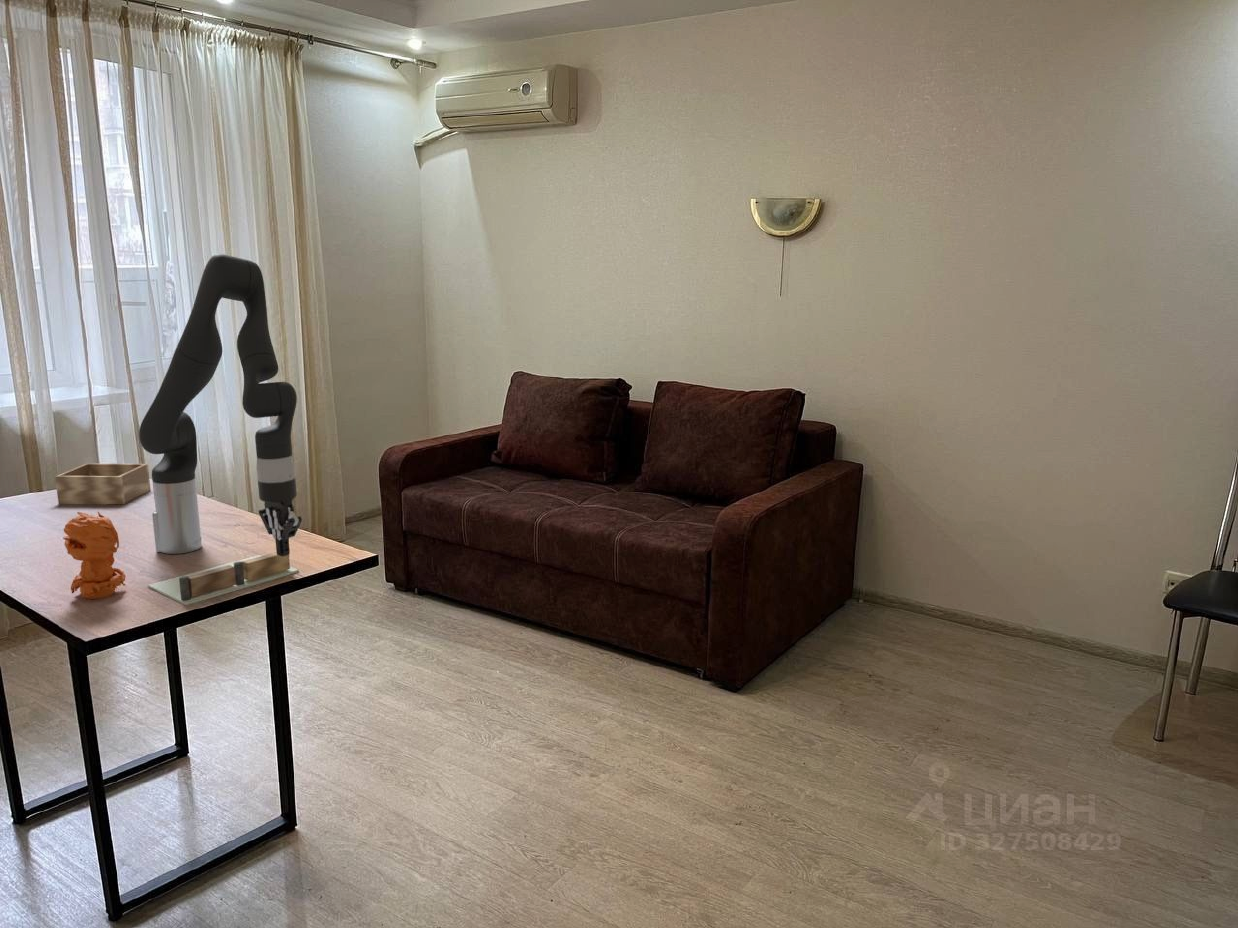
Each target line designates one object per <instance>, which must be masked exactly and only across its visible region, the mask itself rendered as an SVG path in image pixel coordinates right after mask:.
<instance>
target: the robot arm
mask: <svg viewBox="0 0 1238 928" xmlns="http://www.w3.org/2000/svg"><path fill="white" fill-rule="evenodd" d="M266 298H267V297H266V288H265V282H264V276H263V273H262V270H261V268H260V266H259V264H257V263H256V262H254V261H252V260H249V259H245V258H241V257H237V256H233V255H229V254H225V253H216V254H214V255H212V256H211V257H210V258H209V260H208V261H207V263H206V265H205V267H204V270H203V273H202V276H201V278H200V281H199V285H198V288H197V291H196V296H195V300H194V302H193V303H194V304H193V306H192V308H191V312H190V314H189V317H188V319H187V322H186V325H185V328H184V329H183V332H182V335H181V336H180V338H179V341H178V343H177V345H176V348H175V351H174V353H173V355H172V358H171V361H170V364H169V366H168V368H167V371H166V373H165V376H164V377H163V380H162V382H161V385H160V387H159V389H158V392H157V394H156V396H155V398H154V400H153V401H152V403H151V405H150V406H149V408H148V410H147V412H146V413H145V415H144V417H143V419H142V421H141V423H140V425H139V431H138V432H139V433H138V438H139V442H140V445H141V447H142V448H143V449H144V450H145V451H146V452H147V453H149V454H152V455H162V458H161V460H160V461H159V463H157V464H156V465H155V466H153V469H151V481H152V489H153V497H154V507H155V508H154V509H155V511H154V512H152V514H151V516H152V524H153V525H152V526H153V533H154V534H153V535H154V544H155V545H154V546H155V551H156V552H158V553H159V552H160V553H163V554H169V555H176V554H186V553H191V552H193V551H197V550H199V549H201V547H202V546H203V545H202V535H201V534H202V533H201V524H200V522H201V521H200V512H199V503H198V502H199V501H198V492H197V491H198V490H197V483H196V481H197V480H196V470H197V466H198V446H197V444H198V441H197V439H198V437H197V432H196V426H195V424H194V421H193V419H192V418H191V416H190V415H189V414H188V413H187V412H184V411H185V410H186V408H187V407H188V405H189V404H190V403H191V402H192V401H193V400H194V399H195V398H196V397H197V396H198V395H199V394H200V392H202V391H203V390H204V389H205V387H206V386H207V385H208V384H209V383H210V381H212V378H213V377H214V375H215V372H216V370H217V368H218V365H219V363H220V361H221V359H222V355H223V344H222V340H221V335H220V333H219V330H218V326H217V322H216V321H217V320H216V314H217V309H218V306H219V304H220V301H221V299H227V300H230V301H231V300H232V301H238V302H242V304H243V305H244V307H245V311H246V317H245V320H244V322H243V324H242V326H241V328H240V330H239V332H238V335H237V338H236V349H237V353H238V358H239V362H240V366H241V368H242V369H241V370H242V373H243V374H242V375H243V390H242V391H243V392H242V400H241V402H242V408H243V410H244V412H245V413H246V414H247V415H248V416H249V417H251V418H253V419H254V418H255V419H261V418H271V417H272V418H273V417H277V419H276V420H275V422H274V423H273V424H271V425H269V426H268V425H267V426H266V427H262V428H260V429H258V430H257V431H256V432H255V435H254V439H255V453H256V477H257V479H256V480H257V486H258V487H257V489H258V498H259V500H260V501H262V502H264V504H263V505H264V507H263V508H262V509H260V510H258V514H259V517H260V519H261V521H262V524H263V525H264V528H265V529H266V531H267V534H269V535H272V538H273V539H274V540H275V550H276V552H277V555H279V556H282V557H283V556H286V555H289V556H290V541H289V540H290V538H292V537H295V536H296V534H297V532H298V529H300V528H299V527H300V526H301V523H302V521H303V519H302V516H297V515H296V514H295V506H294V505H293V500H294V499H295V498H297V496H298V491H297V481H296V467H295V462H294V459H293V447H292V429H293V420H294V417H295V413H296V408H297V403H298V397H297V392H296V389H295V388H294V386H293V385H292V384H291V383H289V382H287V381H275V382H266V381H269V380H271V379H273V378H274V377H276V376H277V374H278V373H279V364H278V360H277V357H276V354H275V349H274V347H273V344H272V340H271V336H270V335H271V333H270V330H269V321H268V309H267V307H268V306H267V299H266ZM263 382H264V383H263Z"/></svg>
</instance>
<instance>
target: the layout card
mask: <svg viewBox="0 0 1238 928" xmlns="http://www.w3.org/2000/svg"><path fill="white" fill-rule="evenodd" d="M260 556H262V554H261V555H260V554H257V555H254V556H251V557H247V558H243V559H240V560H235V561H231V562H227V563H225V564H221V565H217V566H213V567H211V568H210V567H208V568H206V569H203V570H199V571H195V572H191V573H187V574H183V575H181V576H176V577H172V578H169V579H166V580H163V581H158V582H153V583H150V584H147V587H148V589H151V590H153V591H155V592H157V593H160V595H164V596H166V597H167V598H170V599H172V600H174V601H176V602H178V603H180V604H182V605H185V606H188V605H189V606H190V605H191V604H195V603H199V602H201V601H205V600H209V599H211V598H216V597H219V596H222V595H226V594H228V593H229V594H230V593H232V592H235V591H240V590H242V589H246V588H250V587H253V586H255V585H259V584H263V583H265V582H270V581H273V580H277V579H280V578H283V577H286V576H290V575H293V574H296V573H299V572H300V571H299V569H298V568H295V567H292V566H290V569H288V570H285V571H281V572H278V573H274V574H271V575H268V576H264V577H261V578H257V579H254V580H250V581H248V580H245V579H244V584H242V585H233V586H230V587H226V588H223V589H219V590H216V591H213V592H209V593H206V594H202V595H199V596H195V597H191V599H190V600H187V601H182V600H181V592H180V582H179V578H180V577H182V576H191V575H194V574H198V573H202V572H205V571H209V570H213V569H216V568H220V567H224V566H227V565H231V566H233V567H234V563H235V562H239V561H241V562H242V561H246V560H249V559H253V558H257V557H260Z"/></svg>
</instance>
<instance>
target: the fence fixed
mask: <svg viewBox="0 0 1238 928" xmlns="http://www.w3.org/2000/svg"><path fill="white" fill-rule="evenodd" d="M238 561H239V560H238ZM234 562H235V561H234ZM181 576H182V577H180V576H179V577H180V578H179V582H180V592H181V600H182V601H187V600H190V599H191V597H195V596H199V595H202V594H206V593H209V592H213V591H216V590H219V589H223V588H226V587H230V586H233V585H242V584H244V571H243V562H241V561H239V562H235V563H234V567H233V566H231V565H227V566H224V567H220V568H216V569H213V570H209V571H205V572H202V573H198V574H194V575H191V576H183V575H181Z"/></svg>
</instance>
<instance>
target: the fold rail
mask: <svg viewBox="0 0 1238 928" xmlns="http://www.w3.org/2000/svg"><path fill="white" fill-rule="evenodd" d="M242 562H243V571H244V579H245V580H248V581H250V580H254V579H257V578H261V577H264V576H268V575H271V574H274V573H278V572H281V571H285V570H288V569H290V567H291V565H290V554H289V555H286V556H283V557H282V556H279V555H277V551H276V552H273V553H269V554H264V555H261V556H260V557H257V558H253V559H249V560H246V561H242Z"/></svg>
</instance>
